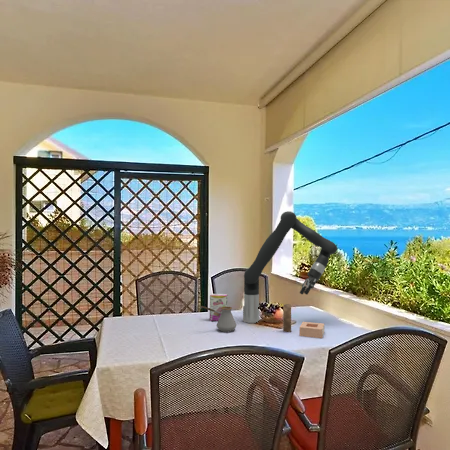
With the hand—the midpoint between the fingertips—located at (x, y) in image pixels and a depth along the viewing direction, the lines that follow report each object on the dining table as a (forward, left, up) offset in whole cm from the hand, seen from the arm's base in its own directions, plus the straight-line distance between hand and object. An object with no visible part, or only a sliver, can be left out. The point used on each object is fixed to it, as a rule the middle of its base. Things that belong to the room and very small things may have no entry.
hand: (303, 293), depth 224 cm
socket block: (+7, -15, -19) cm, 26 cm away
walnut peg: (-7, -15, -19) cm, 25 cm away
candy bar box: (-52, -7, -19) cm, 56 cm away
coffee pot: (-44, -28, -19) cm, 55 cm away
